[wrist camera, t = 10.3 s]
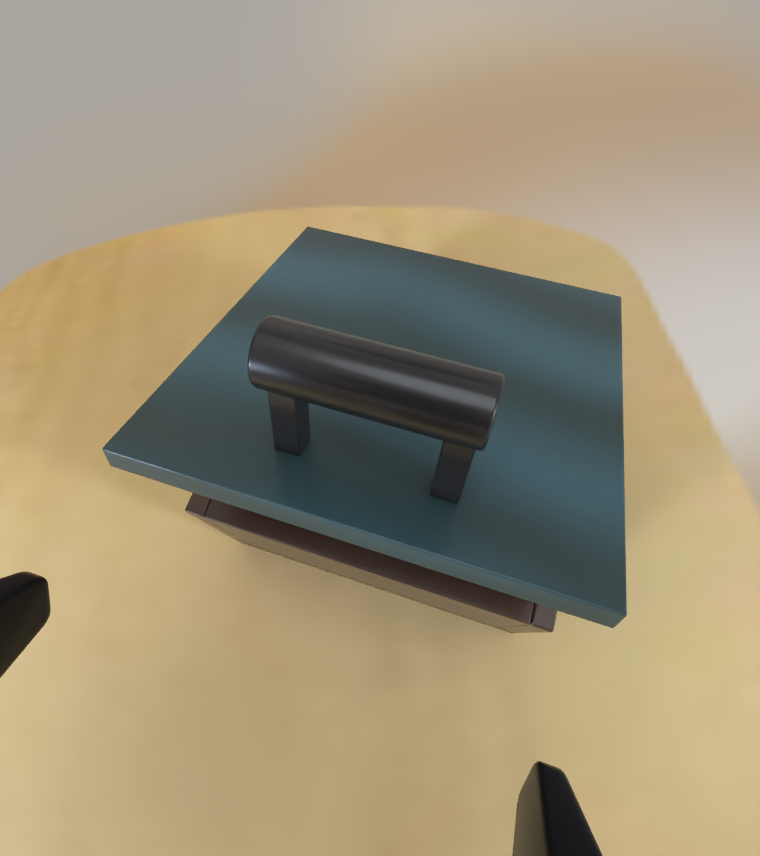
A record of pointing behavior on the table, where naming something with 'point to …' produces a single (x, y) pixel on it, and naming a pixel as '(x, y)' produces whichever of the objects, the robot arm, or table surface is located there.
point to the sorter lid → (411, 418)
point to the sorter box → (375, 568)
